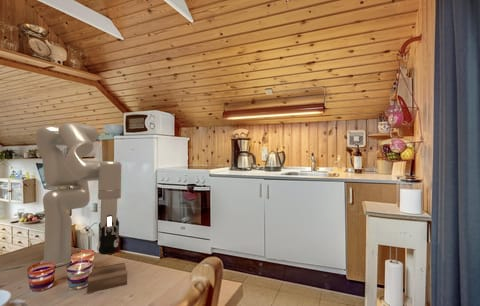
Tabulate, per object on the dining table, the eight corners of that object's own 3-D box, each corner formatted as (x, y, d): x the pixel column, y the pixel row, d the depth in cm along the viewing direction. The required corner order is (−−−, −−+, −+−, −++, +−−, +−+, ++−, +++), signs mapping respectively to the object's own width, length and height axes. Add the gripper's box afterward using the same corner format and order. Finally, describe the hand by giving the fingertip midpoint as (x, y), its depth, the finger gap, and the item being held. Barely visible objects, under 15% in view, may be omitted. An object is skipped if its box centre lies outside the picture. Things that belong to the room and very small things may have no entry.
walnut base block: (89, 278, 92) (89, 268, 92) (124, 271, 98) (124, 262, 98) (87, 292, 81) (87, 282, 81) (126, 284, 87) (127, 274, 87)
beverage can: (109, 255, 86) (110, 221, 87) (93, 254, 87) (94, 220, 88) (122, 249, 92) (123, 217, 93) (107, 248, 94) (107, 216, 94)
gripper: (98, 192, 97) (97, 238, 96) (97, 198, 81) (96, 252, 81) (119, 191, 100) (118, 236, 99) (122, 196, 85) (121, 248, 84)
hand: (108, 243), depth 90 cm, fingers closed on beverage can, 6 cm apart
